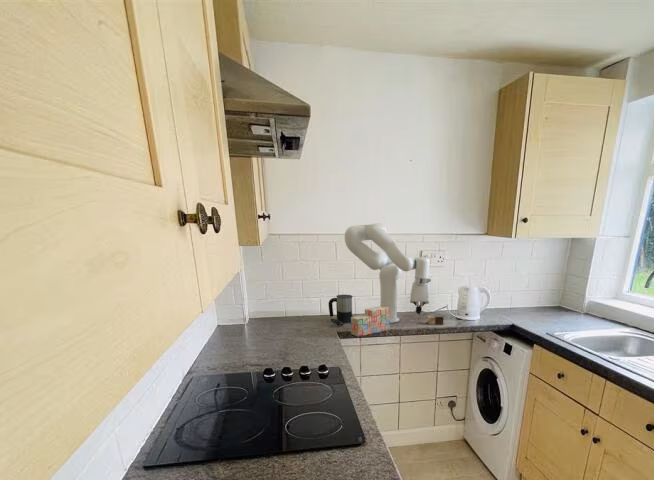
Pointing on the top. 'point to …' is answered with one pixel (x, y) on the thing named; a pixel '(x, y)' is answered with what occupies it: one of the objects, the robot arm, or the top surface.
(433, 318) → the birch block
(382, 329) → the stack of blocks
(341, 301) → the milk frother
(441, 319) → the walnut block
